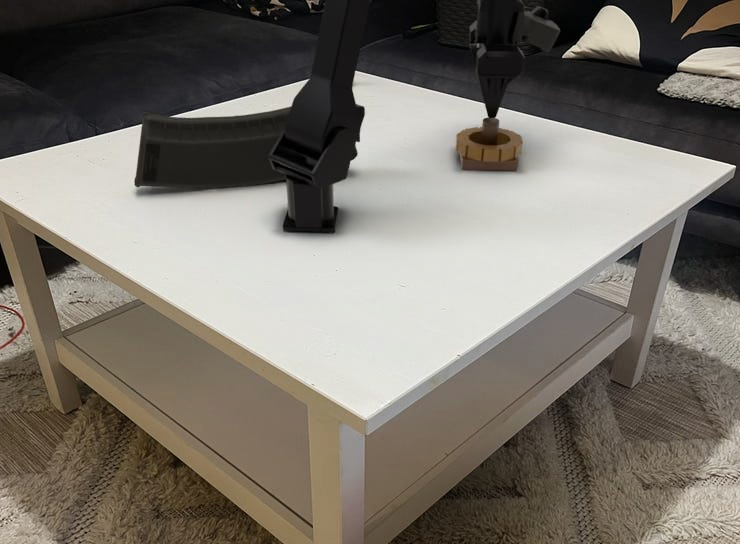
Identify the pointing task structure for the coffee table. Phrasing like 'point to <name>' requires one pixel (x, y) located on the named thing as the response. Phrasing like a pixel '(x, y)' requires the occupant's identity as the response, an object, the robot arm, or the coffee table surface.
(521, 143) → the ring
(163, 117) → the magazine
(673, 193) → the coffee table surface
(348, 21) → the robot arm
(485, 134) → the post
